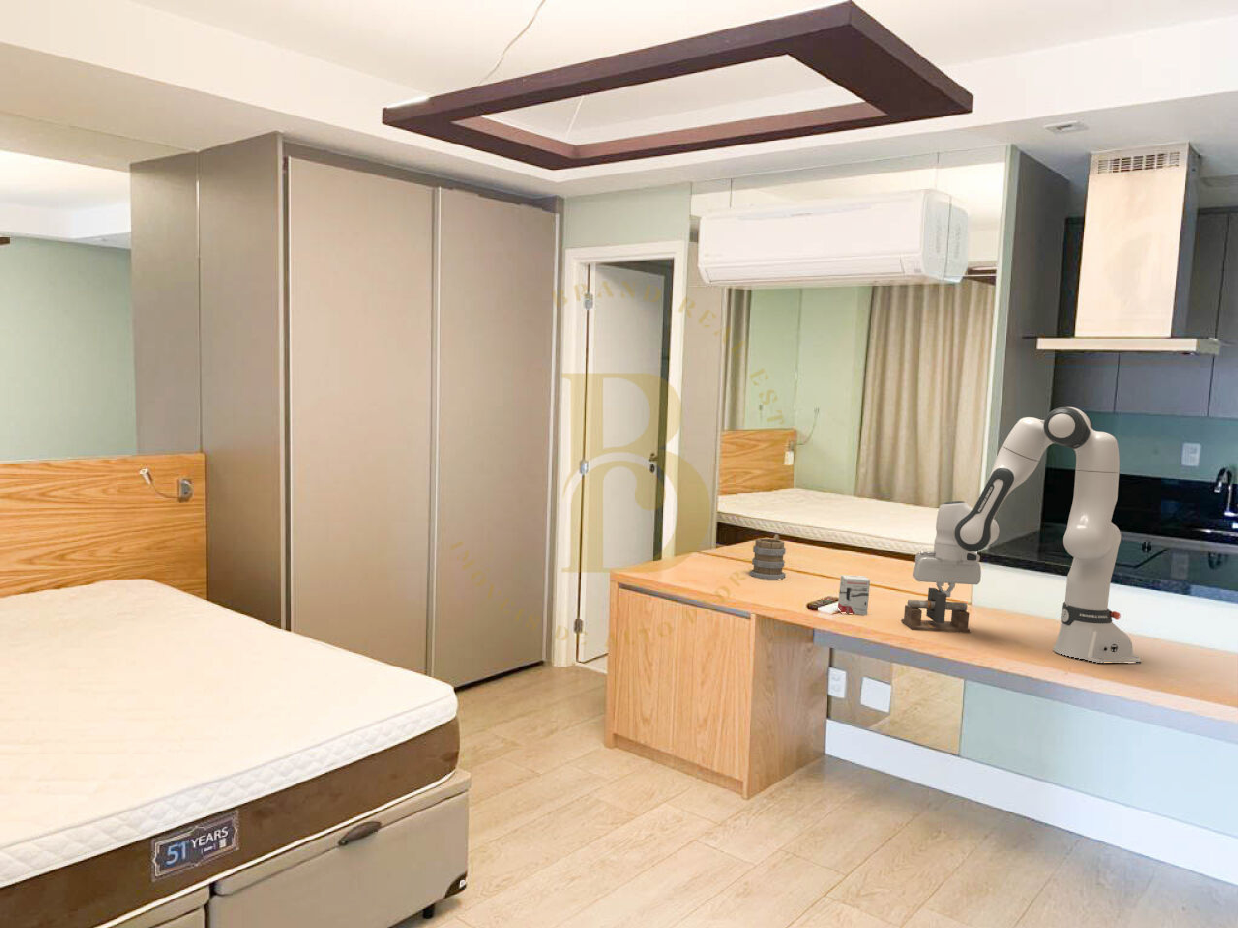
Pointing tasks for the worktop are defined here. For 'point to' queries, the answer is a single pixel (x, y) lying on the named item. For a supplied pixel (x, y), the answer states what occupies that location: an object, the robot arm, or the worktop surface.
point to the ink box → (854, 594)
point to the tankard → (768, 559)
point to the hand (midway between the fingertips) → (944, 596)
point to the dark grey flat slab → (937, 605)
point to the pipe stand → (915, 623)
